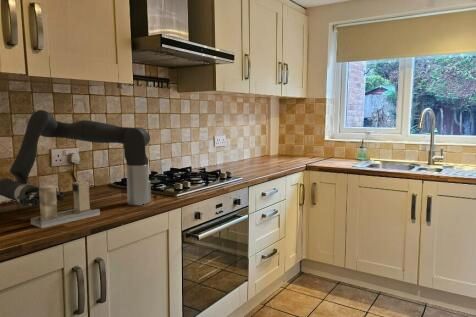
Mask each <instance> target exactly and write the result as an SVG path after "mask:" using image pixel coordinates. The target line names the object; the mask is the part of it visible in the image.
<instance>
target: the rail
mask: <svg viewBox="0 0 476 317" xmlns="http://www.w3.org/2000/svg"><path fill="white" fill-rule="evenodd" d="M71 185H72V191H73V192H72V193H73V209H68V210H63V211H59V212H58V211H57V218H54V219H49V220H44V221H41V215H39V216H35V217H34V216H33V217H30V225H33V226H35V227H38V228H40V229H44V228H49V227H53V226H57V225H62V224H67V223H71V222H75V221H80V220H84V219H88V218H92V217H97V216H100V215H101V209H100V208H95V209H91V206H90V186H89V181H84V180H81V181H75V182H72V184H71Z"/></svg>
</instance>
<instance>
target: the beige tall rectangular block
mask: <svg viewBox="0 0 476 317" xmlns="http://www.w3.org/2000/svg"><path fill="white" fill-rule="evenodd" d="M57 191H58V188H57V187H56V186H55V185H44V186H39V198H40V204H39V209H40V210H39V212H40V215H39V216H41V221H44V220H49V219H54V218H57V213H58V203H57V202H58V200H57V199H56V195H57Z"/></svg>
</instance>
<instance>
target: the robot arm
mask: <svg viewBox="0 0 476 317" xmlns="http://www.w3.org/2000/svg"><path fill="white" fill-rule="evenodd" d="M40 137H43V138H55V139H57V138H60V139H61V138H62V139H70V140H74V141H82V142H89V143H98V144H110V143H111V144H113V143H114V144H123V153H124V159H125V161H126V162H125V163H126V164H125V165H126V192H127V197H126V198H127V205H129V206H143V204H144V205H147V203H148V204H149V203H152V190H151V188H152V186H151V185H152V184H151V183H152V182H151V180H150V178H149V174H150V172H149V157H148V156H147V154H146V153H147V152H146V147H147V145H149V142H150V141H151V135H150V132H148V130H147V129H145V128H143V127H137V126H136V127H131V126H130V127H128V126H119V125H115V124H110V123H105V122H100V121H94V120H88V119H83V120H78V121H74V122H71V123H69V122H63V121H58V120H56V119H54V117H53V116H52V115H51V114H50V113H49V112H48V111H47V110H45V109H44V110H43V109H42V110H41V109H40V110H36V111H34V112H33V113H32V114H31V116H30V117H29V120H28V122H27V126H26V129H25V133H24V136H23V138H22V142H21V145H20V148H19V149H18V150H19V151H18V153H17V155H16V157H15V159H14V161H13V163H12V165H11V167H10V170H9V173H10V174H11V175H12V176H13V177H15V178H16V180H13V179H11V178H9V177H8V178H5V177H4V178H2V179H0V196H2V197H4V198H7V199H9V200H12V201H15V202H17V203H16V204H18V205H20V206H22V207H23V206H25V207H26V206H31V207H36V206H37V207H38V206H39V207H40V198H39V187H40V186H39V185H34V184H31V183H28V180H29V176H30V173H31V171H32V168H33V166H34V164H35V162H36V158H37V150H38V143H39V140H40ZM56 199H57V202H64V200H65V196H64V191H59V190H57V195H56Z"/></svg>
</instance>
